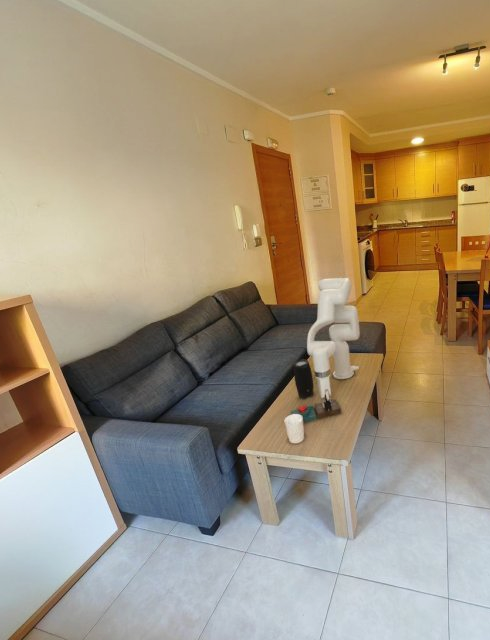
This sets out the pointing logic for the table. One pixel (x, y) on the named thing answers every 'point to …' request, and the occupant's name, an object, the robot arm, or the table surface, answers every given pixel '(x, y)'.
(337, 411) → the dial panel
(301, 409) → the button
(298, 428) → the white cup
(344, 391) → the table surface
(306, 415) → the button block
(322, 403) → the dial
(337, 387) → the table surface
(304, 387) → the portable speaker
